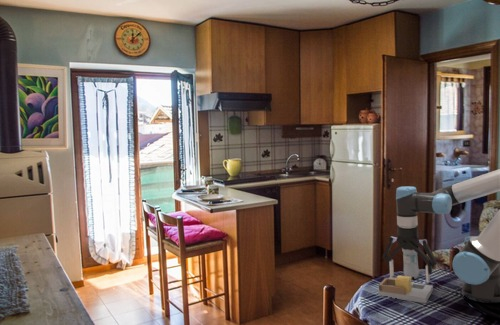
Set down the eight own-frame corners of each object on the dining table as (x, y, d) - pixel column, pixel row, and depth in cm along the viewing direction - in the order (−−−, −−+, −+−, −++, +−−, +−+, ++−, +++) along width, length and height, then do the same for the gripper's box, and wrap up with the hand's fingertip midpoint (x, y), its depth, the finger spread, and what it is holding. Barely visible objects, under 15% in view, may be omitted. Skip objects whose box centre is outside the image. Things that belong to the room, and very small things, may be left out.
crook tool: (409, 283, 166) (408, 279, 166) (406, 286, 163) (406, 282, 163) (389, 280, 170) (389, 277, 170) (387, 283, 167) (386, 279, 167)
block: (411, 289, 159) (411, 276, 159) (408, 293, 155) (408, 281, 155) (399, 287, 162) (398, 275, 162) (395, 291, 158) (395, 279, 158)
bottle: (400, 276, 180) (397, 232, 179) (412, 274, 182) (410, 230, 181) (410, 281, 173) (407, 236, 172) (423, 278, 175) (420, 233, 174)
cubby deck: (433, 290, 161) (432, 279, 161) (426, 303, 150) (425, 291, 150) (388, 284, 172) (387, 274, 172) (378, 295, 160) (377, 284, 160)
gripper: (443, 226, 152) (445, 280, 153) (378, 221, 166) (380, 271, 167) (440, 230, 146) (442, 287, 147) (372, 225, 160) (375, 277, 161)
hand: (409, 278), depth 157 cm, fingers open, 13 cm apart
